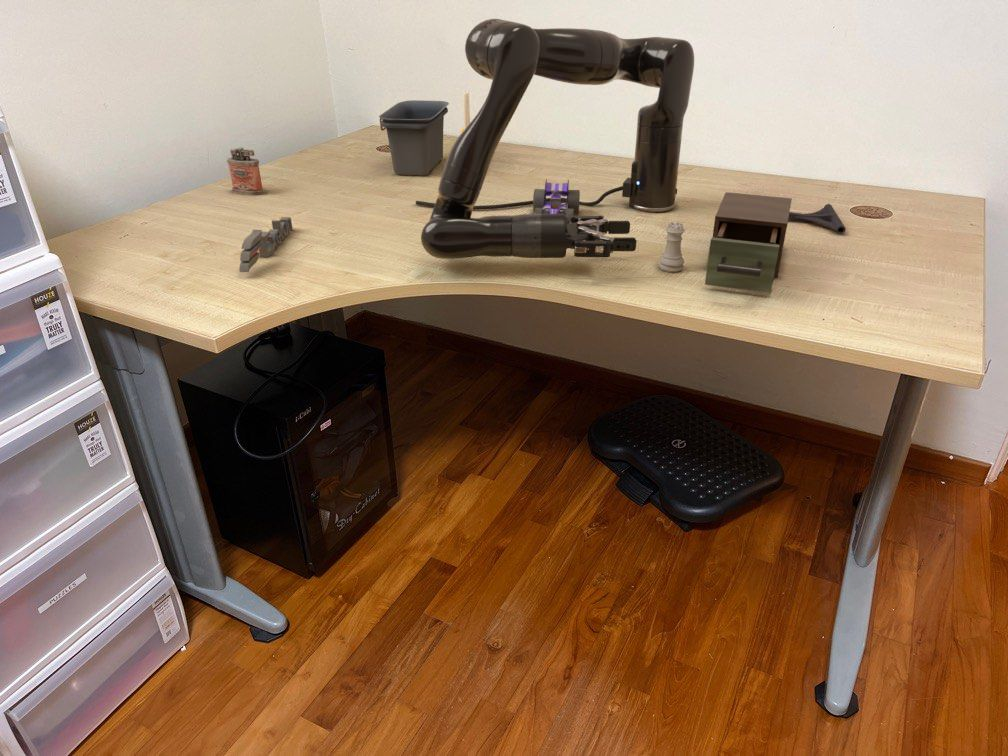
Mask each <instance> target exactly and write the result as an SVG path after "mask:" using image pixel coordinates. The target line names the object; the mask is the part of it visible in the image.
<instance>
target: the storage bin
mask: <svg viewBox="0 0 1008 756" xmlns="http://www.w3.org/2000/svg"><path fill="white" fill-rule="evenodd" d="M449 105H450V103H449V102H448V101H443V100H421V99H420V100H417V99H416V100H415V99H414V100H412V99H411V100H404V101H403V100H402V101H399V102H397V103H396V104H394V105H392V106H391V107H390V108H387V110H385V111H384V112H383V113H380V115H378V118H379V126H380V131H382V132H383V131H385V130H386V135H387V140H388V145H389V151H390V156H391V162H392V166H393V167H392V168H393V172H394V174H396V175H398V176H423V177H424V176H428V175H429V173H430V172H431V171H432V170H433V169H434V168H436V166H437V165H438V164H439V163H440V162H441V161H442V159H443V158H444V121H445V115H446V114H447V113H449V109H448V106H449Z"/></svg>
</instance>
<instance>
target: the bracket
mask: <svg viewBox="0 0 1008 756" xmlns="http://www.w3.org/2000/svg"><path fill="white" fill-rule="evenodd" d="M788 222H795V223H815V224H819V225H822V226H824V227H827V228H828V229H830V230H833V231H835V232H836V233H837V234H838V235H844V233H846V227H845V225H844V224H843V222H842V220H841V219H840V217H839V215H838V213H837V212H836V211H835V209H834V207H833V206H832V204H830V203H827V204H825V205H824V206H823V207H822V208H821V209H819V210H817V211H813V212H811V213H810V212H809V213H801V212H800V213H799V212H794V211H790V212H789V218H788Z"/></svg>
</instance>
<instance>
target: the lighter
mask: <svg viewBox="0 0 1008 756" xmlns="http://www.w3.org/2000/svg"><path fill="white" fill-rule="evenodd" d="M229 153H230V155H231V157H228V158H226V162H227V164H228V169H229V175H230V179H231V185H232V192H233V193H235V194H240V195H247V196H261V195H264V193H265V190H264V188H263V183H262V182H263V181H262V176H261V172H260V166H259V164H260V160H259V159H257V158H252V157H254V156H255V151H254V150H253V149H252V148H251V149H249V148H244V147H241V146H240V147H237V148H230V149H229Z"/></svg>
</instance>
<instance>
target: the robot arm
mask: <svg viewBox="0 0 1008 756" xmlns="http://www.w3.org/2000/svg"><path fill="white" fill-rule="evenodd" d="M464 53H465V57H466V60H467V62H468V64H469V66H470V67H471V68H472V70H473V71H475V72H476V73H477V74H478V75H479V76H481V77H483V78H485V79H487V80H491V85H490V88H489V91H488V94H487V95H486V98H485V100H484V102H483V104H482V106H481V107H480V109H479V110H478V112H477V114H476V115H475V116H474V118H473V119H472V120H470V124H469V125H468V126H467V127H466V128H465V130H464V131H463V132H461V133H460V134H459V136H458V137H457V138H456V140H455V142H454V144H453V145H452V147H451V148H450V151H449V154H448V156H447V158H446V162H445V165H444V168H443V171H442V174H441V178H440V181H439V184H438V189H437V190H438V191H437V193H438V194H437V198H436V201H435V202H428V201H424V200H423V201H422V200H415V205H416V206H417V205H418V206H424V207H429V208H430V207H431V208H433V209H432V212H431V214H430V217H429V219H428V222H426V223H425V225H424V226H423V227H422V230H421V234H420V242H421V246H422V248H423V250H424V251H425V252H426V253H428V255H430V256H431V257H433V258H436V259H441V260H456V259H468V258H476V257H492V258H496V257H497V258H499V257H500V258H501V257H502V258H506V257H507V258H509V257H511V258H521V259H564V258H565V257H566V256H567V250H569V249H570V250H573V256H574V257H575V258H607V259H608V258H610V257H611V255H612V254H614V252H635V251H636V249H637V238H635V237H633V236H632V237H630V236H629V237H626V236H625V237H621V236H620V237H616V236H615V237H612V236H607V234H608V235H628V234H630V232H631V221H629V220H609V219H607V218H605V217H604V215H577V216H576V215H574V216H572V217H570V223H569V224H567V219H566V215H565V214H535V213H522V214H515V215H486V216H482V217H477V218H476V217H472V214H473V212H474V211H475V210H477V211H481V210H497V209H506V208H514V207H515V208H516V207H523V206H531V205H532V206H533V199H531V200H525V201H517V202H509V203H501V204H488V205H487V204H486V205H485V204H484V205H476V203H477V201H478V198H479V197H480V194H481V191H482V188H483V185H484V182H485V180H486V176H487V174H488V172H489V171H488V170H489V168H490V165H491V162H492V160H493V157H494V155H495V153H496V150H497V147H498V146H499V143H500V141H501V139H502V137H503V135H504V133H505V132H506V130H507V128H508V126H509V124H510V122H511V120H512V118H513V116H514V114H516V113H515V112H516V110H517V109H518V107H519V105H520V103H521V101H522V99H523V97H524V95H525V93H526V92H527V89H528V88H529V86H530V84H531V82H532V79H533V78H534V76H537V77H541V78H545V79H548V80H552V81H556V82H561V83H566V84H573V85H579V86H580V85H582V86H583V85H584V86H603V85H607V84H609V83H611V82H613V81H617V80H618V81H619V80H620V81H626V82H630V83H635V84H639V85H642V86H646V87H650V88H656V89H659V90H658V96H657V99H656V101H654V103H653V102H652V103H651V104H649V105H648V104H647V105H644V106H642V107H640V108H639V110H638V111H637V123H636V124H637V125H636V134H635V135H636V137H635V151H634V160H633V161H632V162H631V169H630V170H631V171H630V177H627V178H626V179H625V180H624V181H623V182H622V186H621V185H620V186H617V187H615V188H611V189H609V190H607V191H605V192H604V193H602V194H601V196H599V198H597V199H596V200H595V201H590V202H586V201H580V200H579V206H584V207H594V206H597V205H599V204H601V202H603V200H604V199H605V198H607V196H609V195H611V194H614V193H617V192H621V191H622V192H621V197H622V198H628V208H633V209H636V210H639V211H643V212H650V213H651V212H652V213H662V212H668V211H670V210H671V211H672V210H673V209H675V208H676V196H677V195H678V188H677V187H678V185H677V184H678V176H679V167H680V157H681V147H682V140H683V139H682V137H683V127H684V118H685V116H686V113H687V110H688V107H689V103H690V96H691V90H692V89H691V88H692V84H693V83H692V82H693V78H694V70H695V52H694V47H693V46H692V44H691V42H689V41H688V40H685V39H680V38H673V37H662V36H649V37H640V38H639V37H638V38H623V37H619V36H617V35H616V34H615V33H614V34H613V33H611V32H609V31H604V30H598V29H589V28H570V27H569V28H566V27H564V28H563V27H561V28H559V27H558V28H532V27H531V26H529V25H527V24H524V23H520V22H516V21H511V20H506V19H500V18H489V19H485V20H483V21H480V22H479V23H477V24H476V25H475V26H474V27H473V28H472V29H471V30H470V32H469V33H468V35H467V37H466V40H465V44H464ZM546 198H547V200H550V199H551V197H546ZM561 199H562V200H563V201H566V199H567V197H561ZM567 201H568V199H567ZM473 210H474V211H473Z"/></svg>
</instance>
